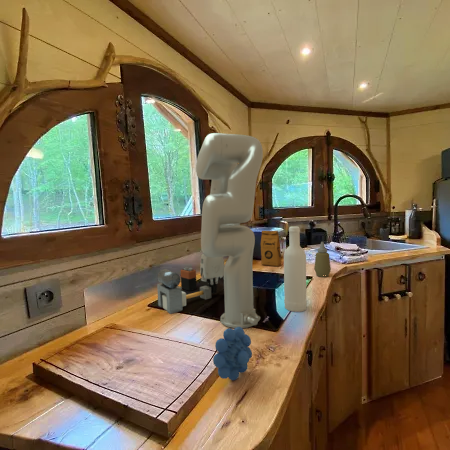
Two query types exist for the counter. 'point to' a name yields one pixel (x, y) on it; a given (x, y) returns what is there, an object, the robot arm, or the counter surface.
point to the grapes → (232, 353)
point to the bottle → (295, 273)
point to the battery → (188, 279)
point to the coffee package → (270, 248)
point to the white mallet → (204, 293)
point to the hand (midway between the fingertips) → (213, 292)
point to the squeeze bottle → (322, 262)
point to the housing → (170, 290)
